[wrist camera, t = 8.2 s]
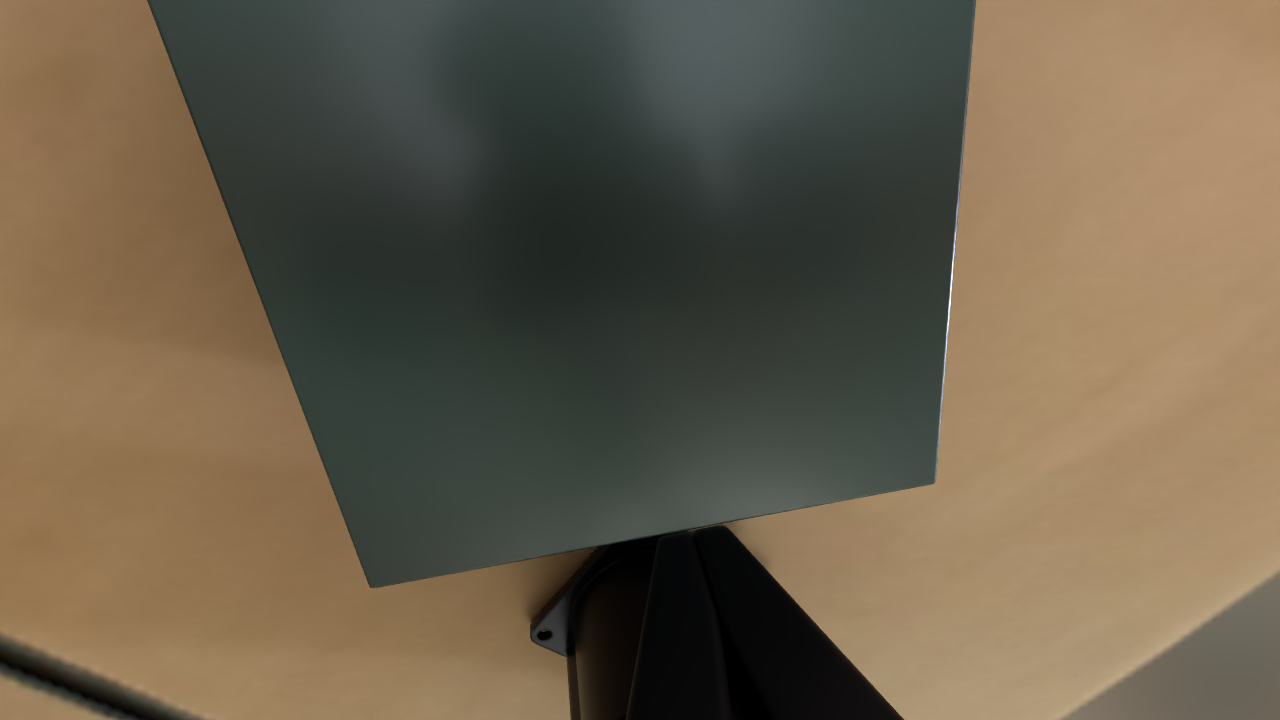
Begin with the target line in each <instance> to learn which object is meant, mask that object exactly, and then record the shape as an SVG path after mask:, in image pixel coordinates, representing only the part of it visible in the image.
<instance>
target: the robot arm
mask: <svg viewBox="0 0 1280 720" xmlns="http://www.w3.org/2000/svg"><path fill="white" fill-rule="evenodd" d="M541 630H548V631H545V632H543V631H541ZM530 638H531V640H532V642H534V643H535V644H537V645H539V646H542V647H544V648H546V649H549V650H551V651H553V652H556V653H558V654H560V655H562V656H565V657H567V669H568V684H569V698H570V713H571V720H904V719H903V718H902V717H901V716H900V715H899V714H898V713H897V712H896V710H895V709H894V708H893V707H892V706H891V705H890V704H889V703H888V702H887V701H886V700H885V699H884V697H883V696H882V695H881V694H880V693H879V692H878V691H877V690H876V689H875V688H874V687H873V685H872V684H871V683H870V682H869V681H868V680H867V679H866V678H865V677H864V676H863V675H862V673H861V672H860V671H859V670H858V669H857V668H856V667H855V666H854V665H853V664H852V663H851V661H850V660H849V659H848V658H847V657H846V656H845V655H844V654H843V653H842V652H841V651H840V649H839V648H838V647H837V646H836V645H835V644H834V643H833V642H832V641H831V640H830V639H829V638H828V636H827V635H826V634H825V633H824V632H823V631H822V630H821V629H820V628H819V627H818V626H817V624H816V623H815V622H814V621H813V620H812V619H811V618H810V617H809V616H808V615H807V614H806V612H805V611H804V610H803V609H802V608H801V607H800V606H799V605H798V604H797V603H796V602H795V600H794V599H793V598H792V597H791V596H790V595H789V594H788V593H787V592H786V591H785V590H784V588H783V587H782V586H781V585H780V584H779V583H778V582H777V581H776V580H775V579H774V578H773V577H772V575H771V574H770V573H769V572H768V571H767V570H766V569H765V568H764V567H763V566H762V565H761V563H760V562H759V561H758V560H757V559H756V558H755V557H754V556H753V555H752V554H751V553H750V551H749V550H748V549H747V548H746V547H745V546H744V545H743V544H742V543H741V542H740V541H739V539H738V538H737V537H736V536H735V535H734V534H733V533H732V532H731V531H730V530H729V529H728V528H727V527H725V526H722V525H719V526H713V527H708V528H703V529H698V530H696V531H694V532H688V531H686V530H684V531H678V532H673V533H668V534H662V535H657V536H651V537H646V538H641V539H635V540H630V541H625V542H619V543H614V544H609V545H603V546H599V547H598V548H597V549H596V551H595V552H594V553H593V554H592V555H591V556H590V557H589V558H588V560H587V561H586V562H585V563H584V564H583V565H582V566H581V567H580V568H579V570H578V571H577V572H576V573H575V574H574V575H573V576H572V577H571V579H570V580H569V581H568V582H567V583H566V584H565V585H564V586H563V587H562V589H561V590H560V591H559V592H558V593H557V594H556V595H555V596H554V598H553V599H552V600H551V601H550V602H549V603H548V604H547V605H546V606H545V608H544V609H543V610H542V611H541V612H540V613H539V614H538V615H537V617H536V618H535V619H534V620H533V621H532V623H531V624H530Z"/></svg>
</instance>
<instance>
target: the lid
mask: <svg viewBox="0 0 1280 720" xmlns="http://www.w3.org/2000/svg"><path fill="white" fill-rule="evenodd" d="M147 1H148V3H149V6H150V9H151V11H152V14H153V17H154V19H155V22H156V24H157V27H158V30H159V32H160V35H161V38H162V40H163V43H164V46H165V48H166V51H167V53H168V56H169V59H170V61H171V64H172V67H173V69H174V72H175V75H176V77H177V80H178V83H179V85H180V88H181V90H182V93H183V96H184V98H185V101H186V104H187V106H188V109H189V112H190V114H191V117H192V119H193V122H194V125H195V127H196V130H197V133H198V135H199V138H200V141H201V143H202V146H203V148H204V151H205V154H206V156H207V159H208V162H209V164H210V167H211V170H212V172H213V175H214V178H215V180H216V183H217V185H218V188H219V191H220V193H221V196H222V199H223V201H224V204H225V207H226V209H227V212H228V214H229V217H230V220H231V222H232V225H233V228H234V230H235V233H236V236H237V238H238V241H239V243H240V246H241V249H242V251H243V254H244V257H245V259H246V262H247V265H248V267H249V270H250V272H251V275H252V278H253V280H254V283H255V286H256V288H257V291H258V294H259V296H260V299H261V302H262V304H263V307H264V309H265V312H266V315H267V317H268V320H269V323H270V325H271V328H272V331H273V333H274V336H275V338H276V341H277V344H278V346H279V349H280V352H281V354H282V357H283V360H284V362H285V365H286V367H287V370H288V373H289V375H290V378H291V381H292V383H293V386H294V389H295V391H296V394H297V396H298V399H299V402H300V404H301V407H302V410H303V412H304V415H305V418H306V420H307V423H308V426H309V428H310V431H311V433H312V436H313V439H314V441H315V444H316V447H317V449H318V452H319V455H320V457H321V460H322V462H323V465H324V468H325V470H326V473H327V476H328V478H329V481H330V484H331V486H332V489H333V491H334V494H335V497H336V499H337V502H338V505H339V507H340V510H341V513H342V515H343V518H344V520H345V523H346V526H347V528H348V531H349V534H350V536H351V539H352V542H353V544H354V547H355V550H356V552H357V555H358V557H359V560H360V563H361V565H362V568H363V571H364V573H365V576H366V579H367V581H368V584H369V586H370V588H378V587H383V586H389V585H394V584H399V583H405V582H410V581H415V580H421V579H426V578H431V577H437V576H442V575H448V574H453V573H458V572H464V571H469V570H474V569H480V568H485V567H490V566H496V565H501V564H507V563H512V562H517V561H523V560H528V559H533V558H539V557H544V556H550V555H555V554H560V553H566V552H571V551H576V550H582V549H587V548H592V547H598V546H603V545H609V544H614V543H619V542H625V541H630V540H635V539H641V538H646V537H651V536H657V535H662V534H668V533H673V532H678V531H684V530H689V529H694V528H700V527H705V526H710V525H716V524H721V523H727V522H732V521H737V520H743V519H748V518H753V517H759V516H764V515H770V514H775V513H780V512H786V511H791V510H796V509H802V508H807V507H812V506H818V505H823V504H829V503H834V502H839V501H845V500H850V499H855V498H861V497H866V496H871V495H877V494H882V493H888V492H893V491H898V490H904V489H909V488H914V487H920V486H925V485H931V484H934V483H935V482H936V471H937V459H938V448H939V436H940V424H941V412H942V400H943V388H944V376H945V364H946V352H947V340H948V328H949V316H950V304H951V293H952V281H953V269H954V257H955V245H956V233H957V221H958V209H959V197H960V185H961V173H962V161H963V149H964V137H965V126H966V114H967V102H968V90H969V78H970V66H971V54H972V42H973V30H974V18H975V6H976V0H147Z"/></svg>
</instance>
